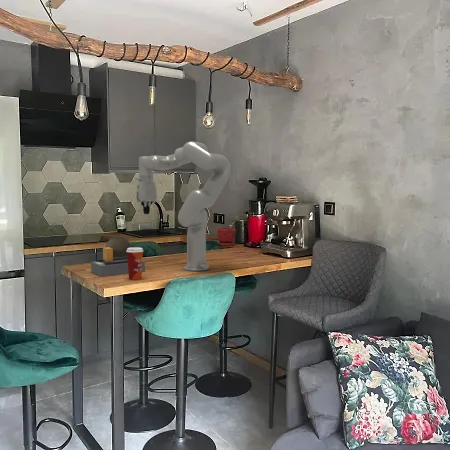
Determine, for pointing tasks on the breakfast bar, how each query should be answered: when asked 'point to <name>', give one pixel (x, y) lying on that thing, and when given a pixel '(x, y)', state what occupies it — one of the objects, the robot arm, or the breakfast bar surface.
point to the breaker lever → (108, 254)
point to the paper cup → (135, 262)
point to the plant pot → (228, 238)
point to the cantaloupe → (119, 246)
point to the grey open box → (112, 267)
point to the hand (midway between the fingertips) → (146, 213)
